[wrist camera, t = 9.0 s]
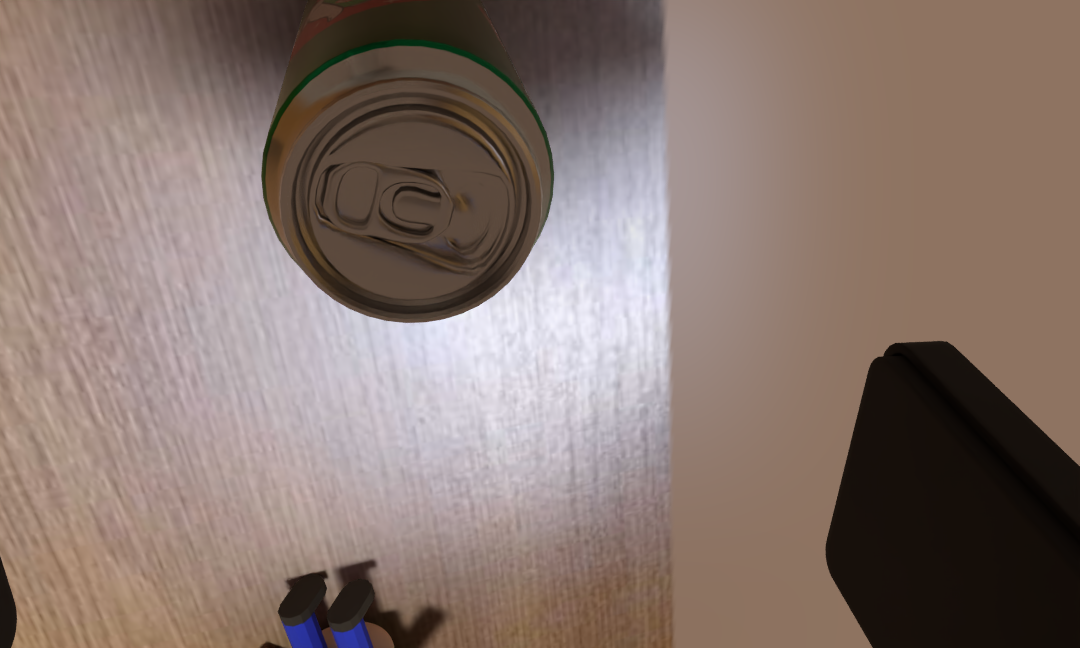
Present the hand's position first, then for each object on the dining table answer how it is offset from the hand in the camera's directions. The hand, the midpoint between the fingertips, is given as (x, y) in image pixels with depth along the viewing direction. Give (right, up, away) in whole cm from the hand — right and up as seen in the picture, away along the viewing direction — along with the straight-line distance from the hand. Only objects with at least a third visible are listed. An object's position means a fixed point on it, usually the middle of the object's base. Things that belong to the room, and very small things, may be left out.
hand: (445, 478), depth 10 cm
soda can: (-3, +9, +16) cm, 19 cm away
